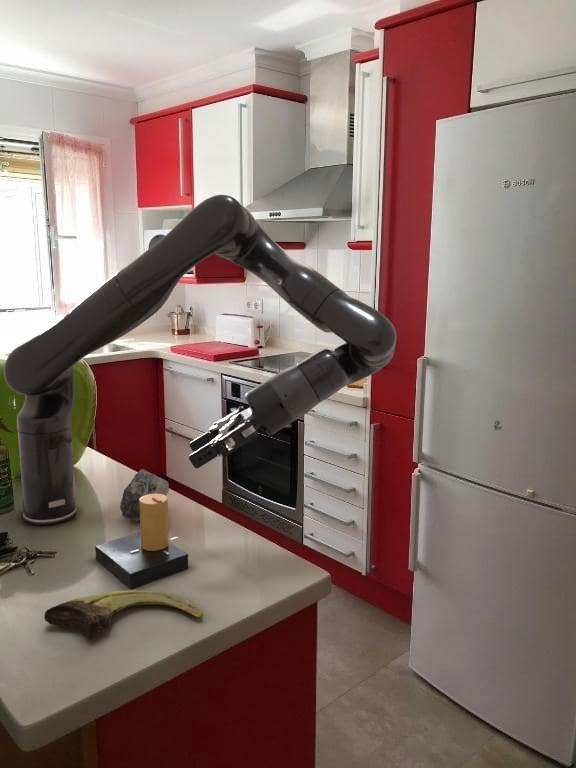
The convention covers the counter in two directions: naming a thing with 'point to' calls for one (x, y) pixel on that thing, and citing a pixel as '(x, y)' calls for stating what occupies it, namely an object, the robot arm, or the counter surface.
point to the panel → (139, 560)
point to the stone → (141, 492)
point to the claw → (109, 609)
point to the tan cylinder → (154, 522)
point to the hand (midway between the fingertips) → (192, 456)
